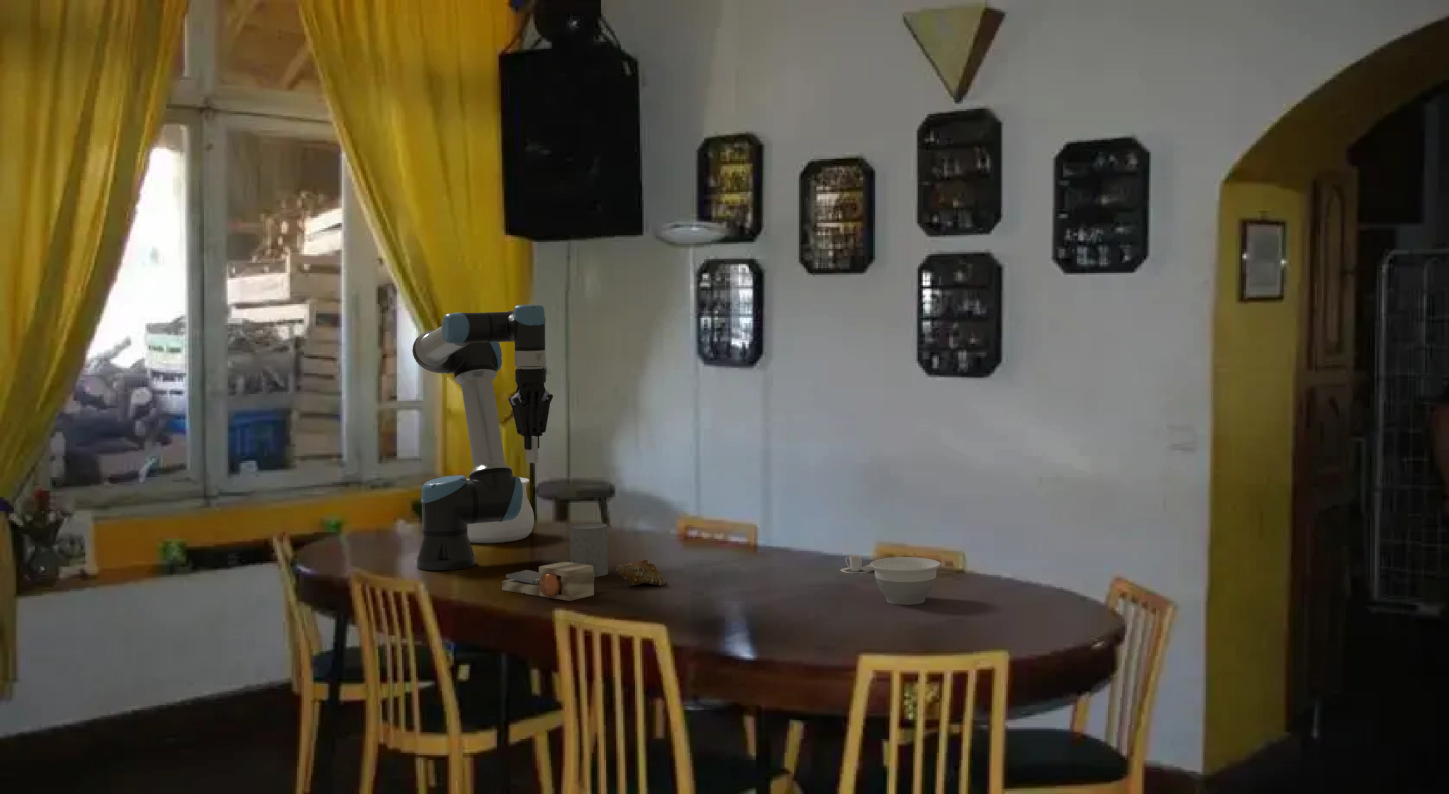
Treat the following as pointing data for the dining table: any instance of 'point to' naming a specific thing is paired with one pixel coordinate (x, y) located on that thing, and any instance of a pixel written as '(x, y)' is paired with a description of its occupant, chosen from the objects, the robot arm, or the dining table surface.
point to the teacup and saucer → (857, 565)
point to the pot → (505, 525)
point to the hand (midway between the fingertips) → (532, 462)
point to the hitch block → (573, 581)
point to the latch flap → (525, 576)
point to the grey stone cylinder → (590, 546)
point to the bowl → (905, 578)
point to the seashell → (641, 573)
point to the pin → (551, 585)
